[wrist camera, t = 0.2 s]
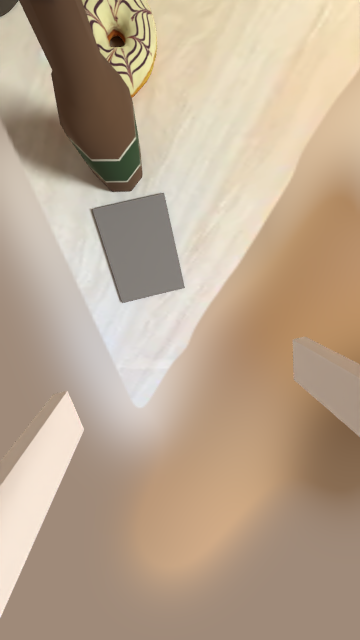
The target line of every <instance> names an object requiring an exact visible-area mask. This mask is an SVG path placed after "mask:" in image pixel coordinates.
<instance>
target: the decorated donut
mask: <svg viewBox="0 0 360 640" xmlns="http://www.w3.org/2000/svg"><path fill="white" fill-rule="evenodd" d="M82 2H83V5H84V8H85V11H86V14H87V17H88V20H89V23H90V26H91V29H92V32H93V34H94V37H95V40H96V43H97V46H98V48H99V50H100V52H101V54H102V55H103V56H104V57H105V58H106V59H107V61H108V62H109V63H110V64H111V65H112V66H113V68H114V69H115V70H116V71H117V72H118V73H119V75H120V76H121V77H122V79H123V80H124V81H125V83H126V84H127V86H128V87H129V90H130V94H131V98H132V97H133V96H135V94H136V93H137V92H138V91H139V90H140V89H141V88H142V87H143V85H144V84H145V83H146V82H147V80H148V78H149V76H150V75H151V72H152V69H153V65H154V61H155V58H156V50H157V35H156V27H155V22H154V20H153V16H152V12H151V9H150V7H149V5H148V3H147V0H82ZM115 36H120V37H121V38H122V40H123V42H124V43H125V45H124V46H123V47H110V45H109V44H110V40H111V38H113V37H115Z"/></svg>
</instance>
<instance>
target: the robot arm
mask: <svg viewBox="0 0 360 640" xmlns="http://www.w3.org/2000/svg"><path fill="white" fill-rule="evenodd" d="M17 1H18V0H0V16H2V15H4V14H5V13H7V12H8V11H9V10H11V9H12V8H13V7H14V5H15V4H16V3H17ZM293 363H294V364H293V366H294V380H295V381H296V382H297V383H298V384H300V385H301V386H302V387H303V388H304V389H305V390H306V391H307V392H309V393H310V394H311V395H312V396H313V397H315V398H316V399H317V400H318V401H319V402H320V403H321V404H322V405H324V406H325V407H326V408H327V409H328V410H329V411H331V412H332V413H333V414H334V415H335V416H336V417H338V418H339V419H340V420H341V421H342V422H343V423H344V424H346V425H347V426H348V427H349V428H350V429H351V430H352V431H354V432H355V433H356V434H357V435H358V436H359V437H360V364H358V363H356V362H354V361H352V360H350V359H348V358H346V357H344V356H342V355H340V354H338V353H336V352H334V351H332V350H330V349H328V348H327V347H325V346H323V345H321V344H319V343H317V342H315V341H313V340H311V339H309V338H307V337H302V338H297V339H294V340H293ZM83 431H84V428H83V426H82V424H81V421H80V419H79V417H78V415H77V412H76V410H75V408H74V405H73V403H72V401H71V398H70V396H69V394H68V392H67V391H65V392H61V393H56V394H53V395H52V397H51V398H50V399H49V400H48V402H47V403H46V404H45V405H44V407H43V408H42V409H41V411H40V412H39V413H38V414H37V416H36V417H35V418H34V419H33V421H32V422H31V423H30V425H29V426H28V427H27V428H26V430H25V431H24V432H23V433H22V434H21V436H20V437H19V438H18V439H17V441H16V442H15V443H14V445H13V446H12V447H11V448H10V449H9V451H8V452H7V453H6V455H5V456H4V457H3V458H2V460H1V461H0V617H1V615H2V613H3V610H4V608H5V606H6V603H7V601H8V599H9V597H10V595H11V592H12V590H13V588H14V586H15V583H16V581H17V579H18V577H19V574H20V572H21V570H22V568H23V565H24V563H25V561H26V559H27V556H28V554H29V552H30V550H31V547H32V545H33V543H34V541H35V538H36V536H37V534H38V532H39V529H40V527H41V525H42V522H43V520H44V518H45V516H46V514H47V511H48V509H49V507H50V505H51V502H52V500H53V498H54V496H55V493H56V491H57V489H58V487H59V484H60V482H61V480H62V478H63V475H64V473H65V471H66V469H67V467H68V464H69V462H70V460H71V458H72V455H73V453H74V451H75V449H76V446H77V444H78V442H79V440H80V437H81V435H82V433H83Z"/></svg>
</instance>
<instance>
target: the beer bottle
mask: <svg viewBox="0 0 360 640" xmlns="http://www.w3.org/2000/svg"><path fill="white" fill-rule="evenodd" d="M19 1H20V3H21V5H22V7H23V10H24V12H25V14H26V16H27V18H28V20H29V22H30V24H31V26H32V28H33V30H34V33H35V35H36V37H37V39H38V41H39V43H40V45H41V47H42V49H43V51H44V54H45V56H46V58H47V60H48V62H49V64H50V66H51V68H52V73H51V75H52V81H53V86H54V92H55V98H56V103H57V109H58V114H59V119H60V124H61V126H62V128H63V129H64V131H65V133H66V135H67V136H68V138H69V139H70V141H71V142H72V143H73V145H74V146H75V147H76V149H77V150H78V152H79V153H80V154H81V156H82V157H83V159H84V160H85V161H86V163H87V164H88V166H89V167H90V168H91V170H92V171H93V173H94V174H95V175H96V176H97V177H98V178H99V179H100V180H101V181H102V182H103V183H104V184H105V185H106V186H107V187H108V188H109V189H110V190H112V191H113V192H121V191H132V189H133V188H134V187H135V185H136V184H137V183H138V182H139V180H140V179H141V178H142V165H141V153H140V145H139V139H138V133H137V126H136V120H135V114H134V108H133V102H132V98H131V94H130V90H129V87H128V86H127V84H126V83H125V81H124V80H123V79H122V77H121V76H120V75H119V73H118V72H117V71H116V70H115V69H114V68H113V66H112V65H111V64H110V63H109V62H108V61H107V59H106V58H105V57H104V56H103V55H102V54H101V52H100V50H99V48H98V46H97V43H96V40H95V37H94V34H93V32H92V29H91V26H90V23H89V20H88V17H87V14H86V11H85V8H84V5H83V2H82V0H19Z"/></svg>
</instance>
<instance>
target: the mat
mask: <svg viewBox="0 0 360 640" xmlns="http://www.w3.org/2000/svg"><path fill="white" fill-rule="evenodd" d="M92 210H93V213H94V216H95V219H96V222H97V226H98V229H99V232H100V235H101V238H102V241H103V244H104V247H105V251H106V254H107V257H108V260H109V263H110V266H111V269H112V272H113V276H114V279H115V282H116V285H117V288H118V291H119V294H120V297H121V300H122V303H125V302H129V301H133V300H137V299H141V298H145V297H149V296H153V295H157V294H162V293H166V292H170V291H174V290H178V289H182V288H185V287H184V282H183V278H182V273H181V269H180V264H179V260H178V255H177V250H176V246H175V241H174V237H173V232H172V228H171V223H170V219H169V214H168V209H167V205H166V200H165V196H164V193H162V194H157V195H153V196H148V197H144V198H140V199H135V200H131V201H126V202H122V203H117V204H113V205H108V206H104V207H100V208H95V209H92Z"/></svg>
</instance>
